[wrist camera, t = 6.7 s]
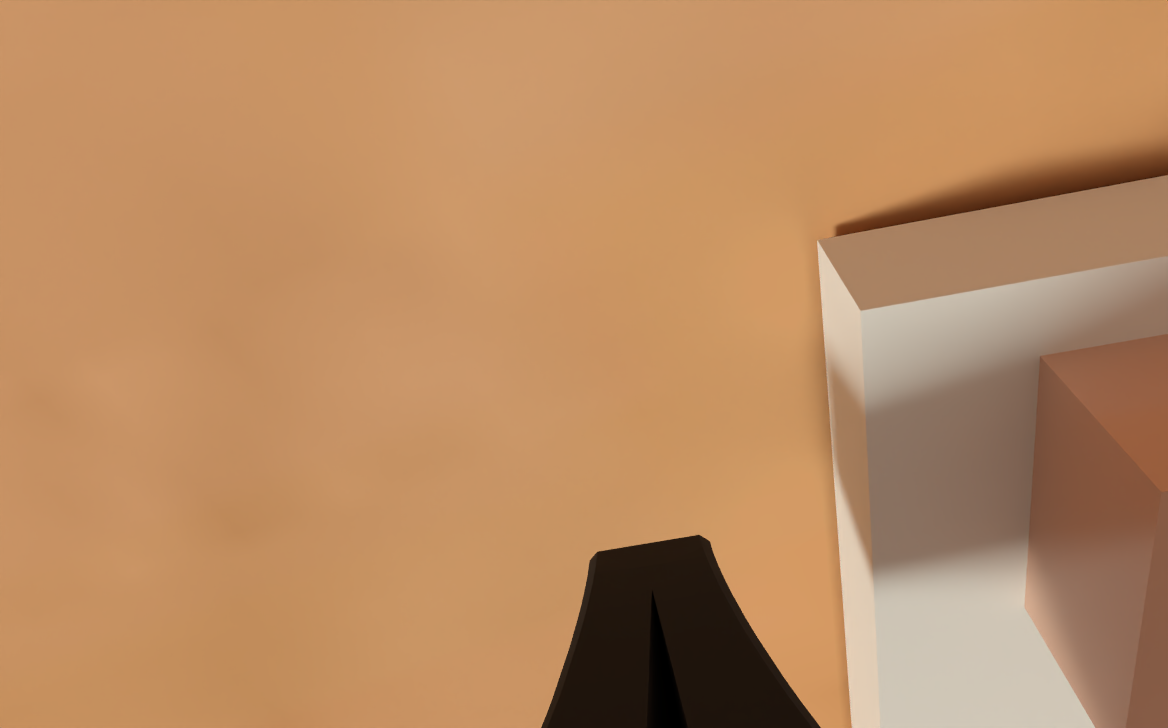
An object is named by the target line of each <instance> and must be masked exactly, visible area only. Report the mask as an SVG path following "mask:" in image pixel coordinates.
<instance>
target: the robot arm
mask: <svg viewBox="0 0 1168 728" xmlns="http://www.w3.org/2000/svg"><path fill="white" fill-rule="evenodd" d="M541 728H821V727H820V726H819V725H818V724H817V722H816V721H815V720H814V718H813V717H812V716H811V714H810V713H809V712H808V710H807V709H806V708H805V706H804V705H803V704H802V702H801V701H800V700H799V698H798V697H797V695H796V694H795V693H794V691H793V690H792V688H791V687H790V686H789V684H788V683H787V681H786V680H785V679H784V677H783V676H782V674H781V673H780V671H779V670H778V668H777V667H776V665H775V664H774V662H773V660H772V659H771V657H770V656H769V654H768V653H767V651H766V650H765V648H764V647H763V645H762V644H761V642H760V641H759V639H758V638H757V636H756V635H755V633H754V631H753V630H752V628H751V626H750V625H749V623H748V621H747V620H746V618H745V616H744V615H743V613H742V611H741V609H740V607H739V606H738V604H737V602H736V600H735V598H734V597H733V595H732V593H731V591H730V589H729V587H728V585H727V583H726V581H725V579H724V577H723V575H722V573H721V571H720V568H719V566H718V564H717V561H716V559H715V556H714V554H713V551H712V548H711V544H710V541H708V540H707V539H705V538H703V537H702V536H700V535H696V536H690V537H684V538H678V539H672V540H666V541H660V542H654V543H648V544H641V545H635V546H629V547H623V548H617V549H611V550H605V551H599V552H597V553H596V554H595V555H594V556H593V558H592V559H591V560H590V563H589V570H588V577H587V582H586V587H585V592H584V596H583V601H582V605H581V609H580V613H579V617H578V620H577V624H576V627H575V631H574V634H573V638H572V641H571V645H570V648H569V651H568V654H567V657H566V660H565V663H564V666H563V669H562V672H561V675H560V678H559V681H558V684H557V687H556V690H555V693H554V696H553V699H552V702H551V704H550V707H549V710H548V712H547V715H546V717H545V720H544V722H543V725H542V727H541Z"/></svg>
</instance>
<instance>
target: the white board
mask: <svg viewBox="0 0 1168 728" xmlns="http://www.w3.org/2000/svg"><path fill="white" fill-rule="evenodd" d="M817 245H818V259H819V273H820V287H821V301H822V315H823V329H824V343H825V357H826V371H827V385H828V399H829V413H830V427H831V441H832V456H833V470H834V484H835V498H836V512H837V526H838V540H839V554H840V568H841V582H842V596H843V610H844V624H845V638H846V652H847V666H848V680H849V694H850V708H851V722H852V728H1095V726H1094V725H1093V723H1092V721H1091V719H1090V718H1089V716H1088V714H1087V713H1086V711H1085V709H1084V708H1083V706H1082V704H1081V702H1080V701H1079V699H1078V697H1077V696H1076V694H1075V692H1074V691H1073V689H1072V687H1071V686H1070V684H1069V682H1068V680H1067V679H1066V677H1065V675H1064V674H1063V672H1062V670H1061V669H1060V667H1059V665H1058V663H1057V662H1056V660H1055V658H1054V657H1053V655H1052V653H1051V652H1050V650H1049V648H1048V647H1047V645H1046V643H1045V641H1044V640H1043V638H1042V636H1041V635H1040V633H1039V631H1038V630H1037V628H1036V626H1035V624H1034V623H1033V621H1032V619H1031V618H1030V616H1029V614H1028V613H1027V611H1026V609H1025V608H1024V605H1025V589H1026V573H1027V557H1028V541H1029V525H1030V509H1031V493H1032V477H1033V461H1034V445H1035V429H1036V413H1037V397H1038V381H1039V365H1040V356H1043V355H1049V354H1055V353H1060V352H1066V351H1072V350H1078V349H1083V348H1089V347H1095V346H1101V345H1106V344H1112V343H1118V342H1124V341H1130V340H1135V339H1141V338H1147V337H1153V336H1158V335H1164V334H1168V175H1166V176H1160V177H1155V178H1149V179H1144V180H1139V181H1133V182H1128V183H1122V184H1117V185H1112V186H1106V187H1101V188H1095V189H1090V190H1085V191H1079V192H1074V193H1068V194H1063V195H1058V196H1052V197H1047V198H1041V199H1036V200H1031V201H1025V202H1020V203H1014V204H1009V205H1004V206H998V207H993V208H987V209H982V210H977V211H971V212H966V213H960V214H955V215H950V216H944V217H939V218H933V219H928V220H923V221H917V222H912V223H906V224H901V225H896V226H890V227H885V228H879V229H874V230H869V231H863V232H858V233H852V234H847V235H842V236H836V237H831V238H825V239H820V240H817Z"/></svg>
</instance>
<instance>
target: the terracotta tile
mask: <svg viewBox="0 0 1168 728" xmlns="http://www.w3.org/2000/svg"><path fill="white" fill-rule="evenodd" d="M1024 608H1025V609H1026V611H1027V613H1028V614H1029V616H1030V618H1031V619H1032V621H1033V623H1034V624H1035V626H1036V628H1037V630H1038V631H1039V633H1040V635H1041V636H1042V638H1043V640H1044V641H1045V643H1046V645H1047V647H1048V648H1049V650H1050V652H1051V653H1052V655H1053V657H1054V658H1055V660H1056V662H1057V663H1058V665H1059V667H1060V669H1061V670H1062V672H1063V674H1064V675H1065V677H1066V679H1067V680H1068V682H1069V684H1070V686H1071V687H1072V689H1073V691H1074V692H1075V694H1076V696H1077V697H1078V699H1079V701H1080V702H1081V704H1082V706H1083V708H1084V709H1085V711H1086V713H1087V714H1088V716H1089V718H1090V719H1091V721H1092V723H1093V725H1094V726H1095V728H1168V334H1164V335H1158V336H1153V337H1147V338H1141V339H1135V340H1130V341H1124V342H1118V343H1112V344H1106V345H1101V346H1095V347H1089V348H1083V349H1078V350H1072V351H1066V352H1060V353H1055V354H1049V355H1043V356H1040V365H1039V381H1038V397H1037V413H1036V429H1035V445H1034V461H1033V477H1032V493H1031V509H1030V525H1029V541H1028V557H1027V573H1026V589H1025V605H1024Z"/></svg>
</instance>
